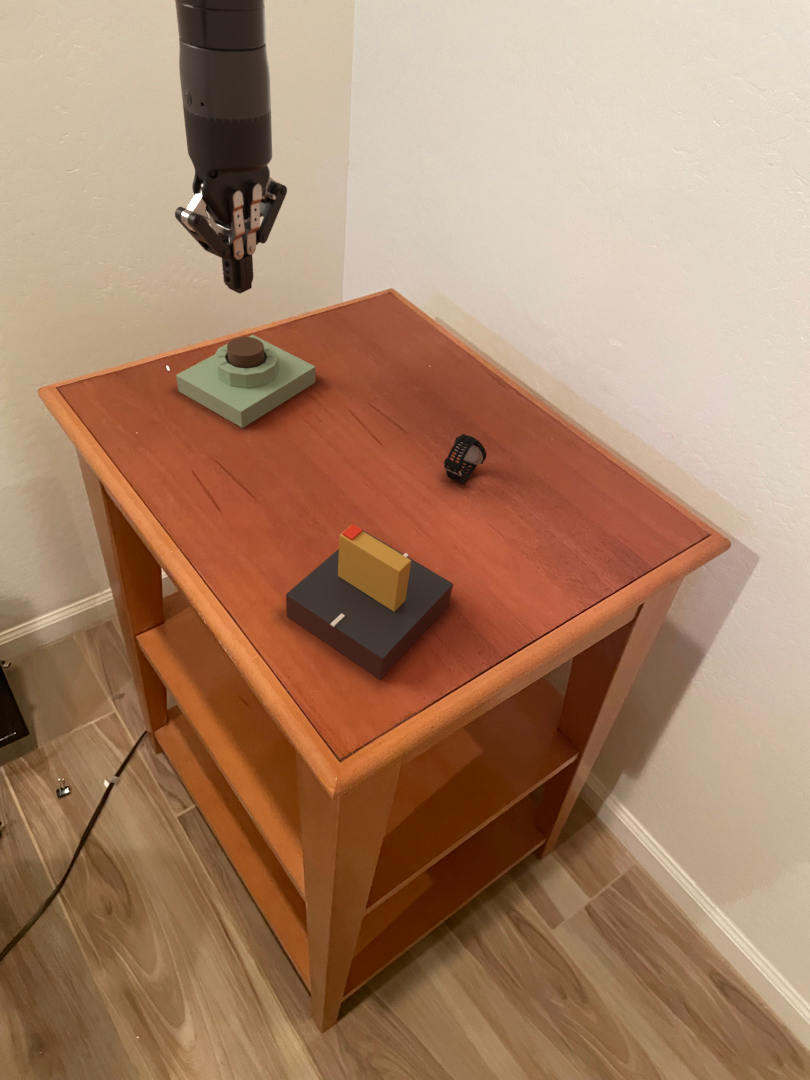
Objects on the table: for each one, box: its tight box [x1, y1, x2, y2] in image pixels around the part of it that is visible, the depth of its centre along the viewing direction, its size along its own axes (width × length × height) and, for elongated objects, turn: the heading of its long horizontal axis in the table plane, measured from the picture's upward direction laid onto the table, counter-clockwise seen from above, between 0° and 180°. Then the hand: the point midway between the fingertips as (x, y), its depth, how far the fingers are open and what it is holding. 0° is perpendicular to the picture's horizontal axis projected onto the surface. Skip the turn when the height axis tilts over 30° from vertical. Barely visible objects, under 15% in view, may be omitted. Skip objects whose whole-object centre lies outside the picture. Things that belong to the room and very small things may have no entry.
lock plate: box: [285, 528, 454, 681], centre depth 62 cm, size 10×10×3 cm
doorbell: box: [175, 334, 316, 429], centre depth 83 cm, size 12×10×4 cm
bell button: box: [226, 336, 265, 369], centre depth 81 cm, size 4×4×2 cm
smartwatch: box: [443, 433, 487, 485], centre depth 75 cm, size 4×5×5 cm
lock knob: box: [338, 524, 411, 612], centre depth 59 cm, size 6×2×5 cm, turn 54°
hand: (239, 288), depth 76 cm, fingers closed
